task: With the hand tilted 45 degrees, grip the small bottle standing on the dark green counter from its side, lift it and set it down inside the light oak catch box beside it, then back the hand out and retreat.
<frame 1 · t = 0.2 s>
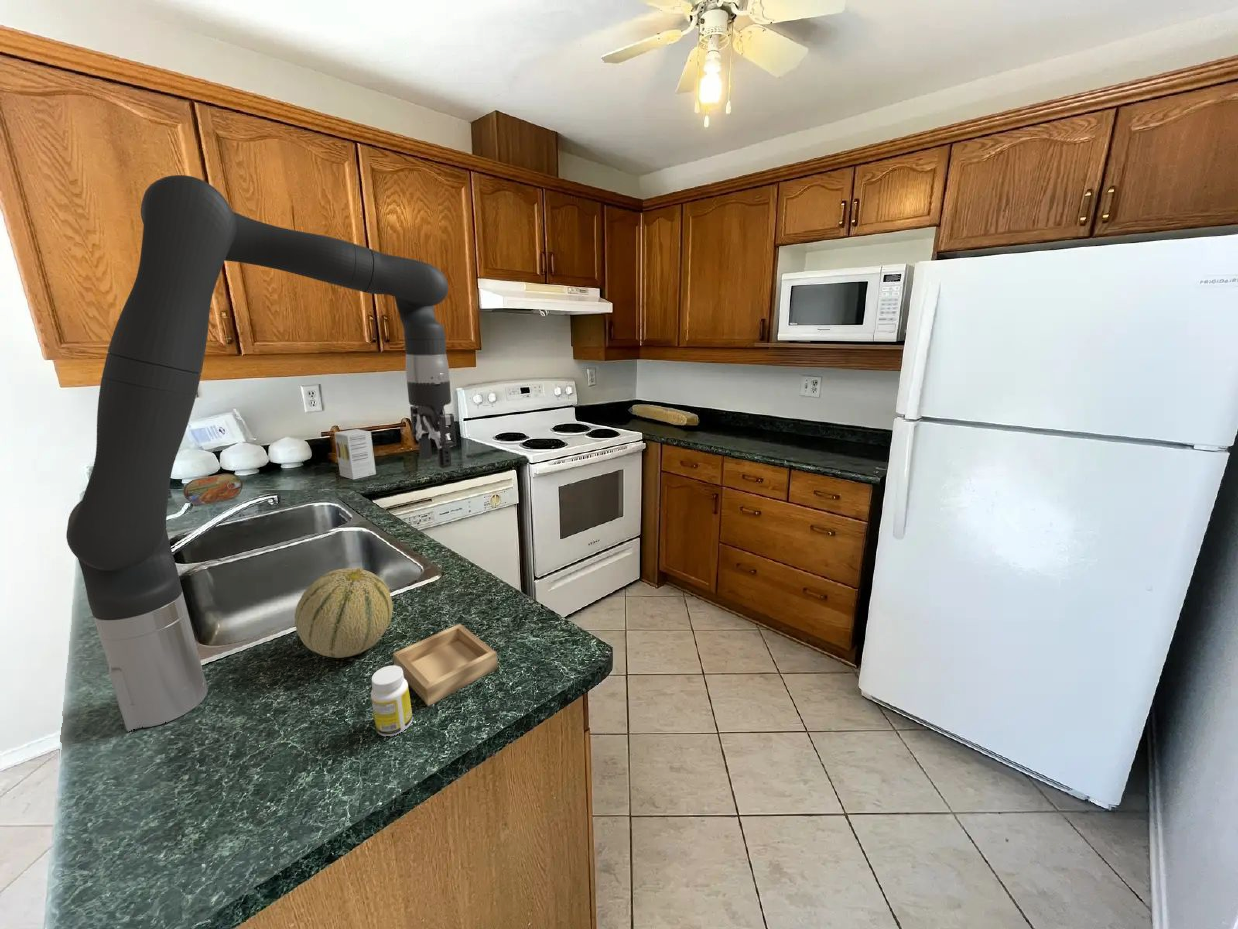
hand: (435, 462, 98), 29 cm above the worktop, tool pointing down, fingers open, 8 cm apart
supplement bottle: (394, 726, 71), on the worktop
catch box: (446, 668, 83), on the worktop
supplement box: (358, 475, 191), on the worktop
tin: (216, 501, 162), on the worktop
cantaloupe: (351, 649, 88), on the worktop
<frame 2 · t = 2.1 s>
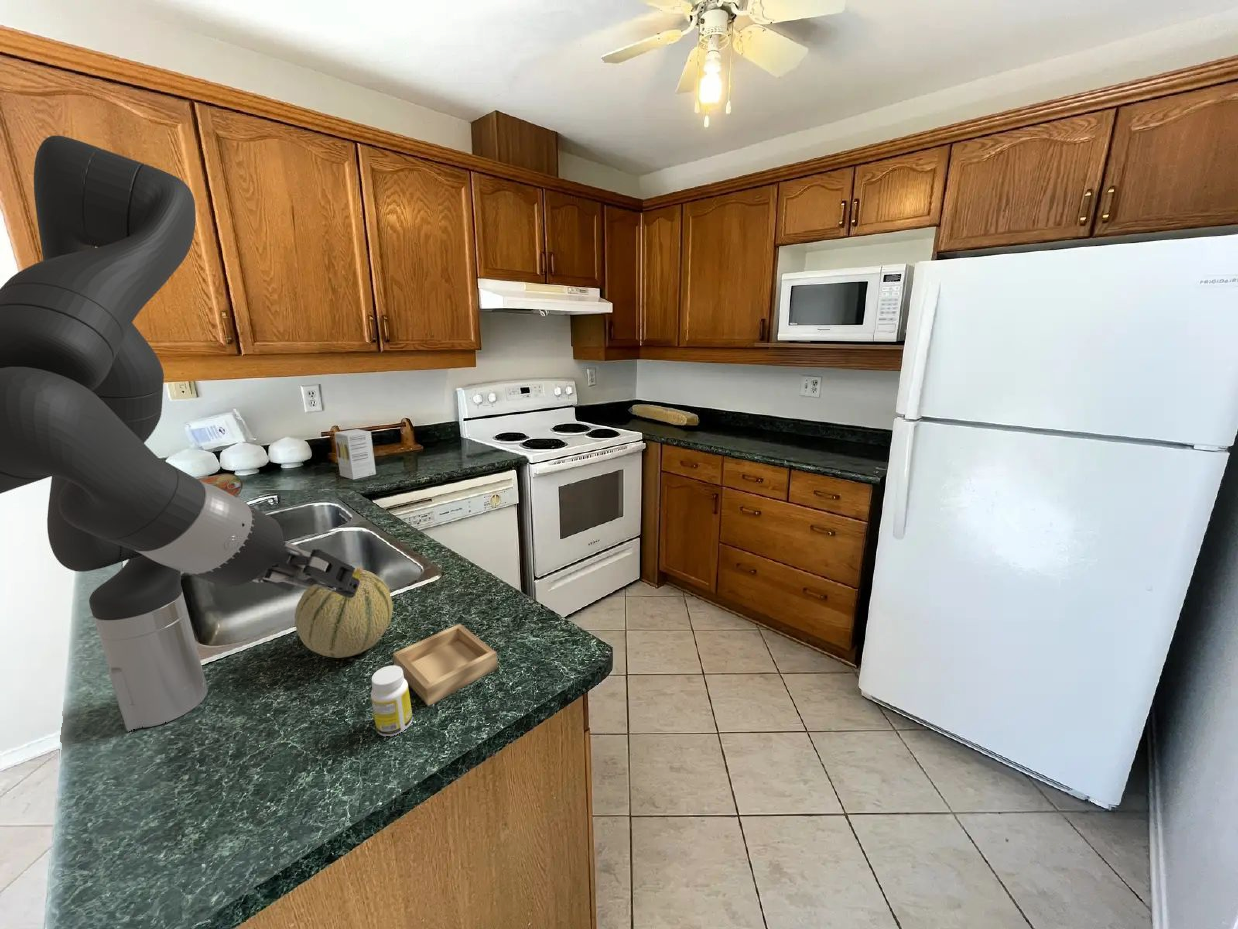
hand: (323, 586, 60), 25 cm above the worktop, tool tilted 45°, fingers open, 8 cm apart
nothing on the worktop moved.
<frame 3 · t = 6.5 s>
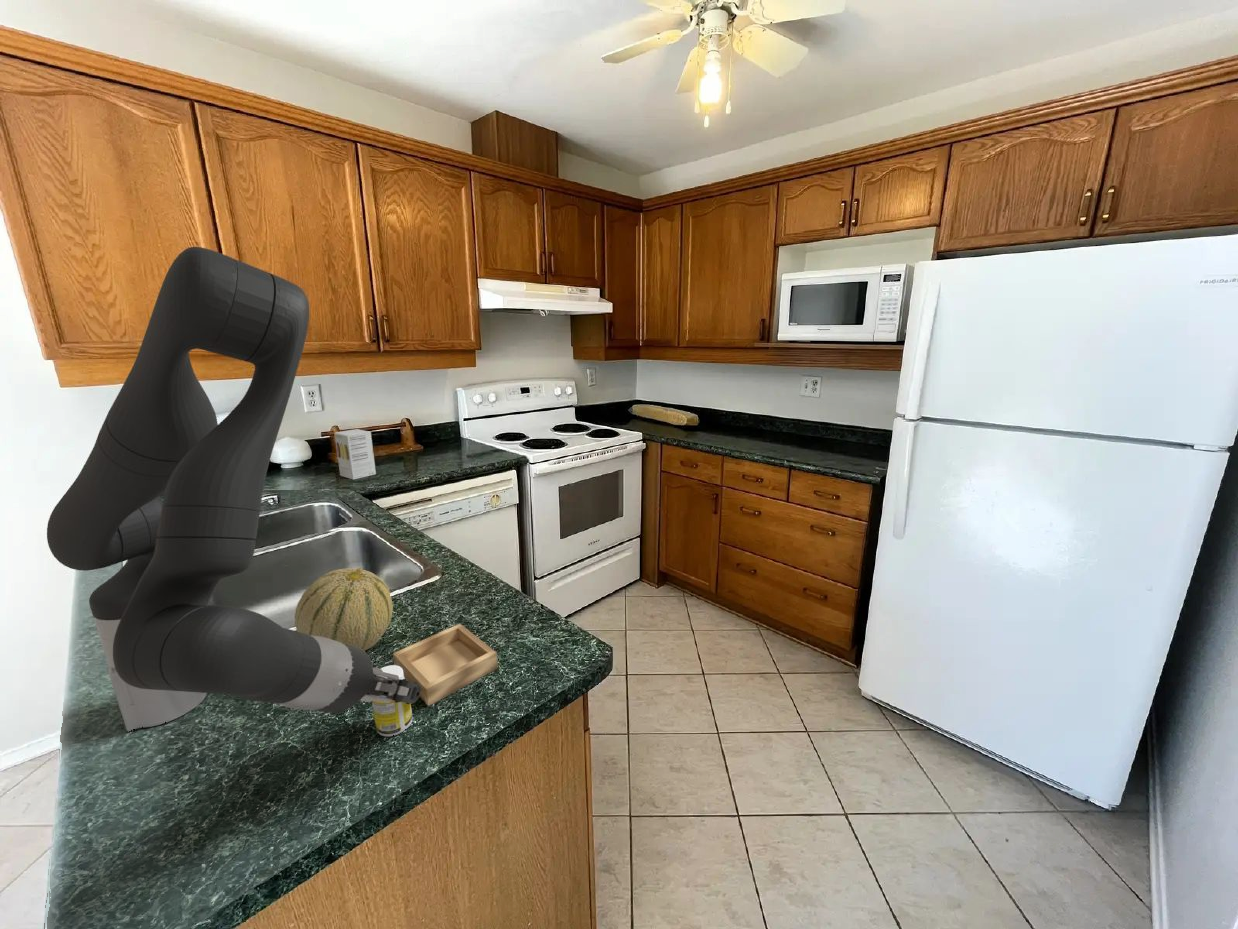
hand: (399, 691, 72), 4 cm above the worktop, tool tilted 45°, fingers closed on supplement bottle, 4 cm apart
supplement bottle: (394, 725, 71), on the worktop, touching gripper
everything else where it was.
when the fingers open (6 cm above the worktop, at t = 11.1 s): supplement bottle drops 1 cm, resting on catch box.
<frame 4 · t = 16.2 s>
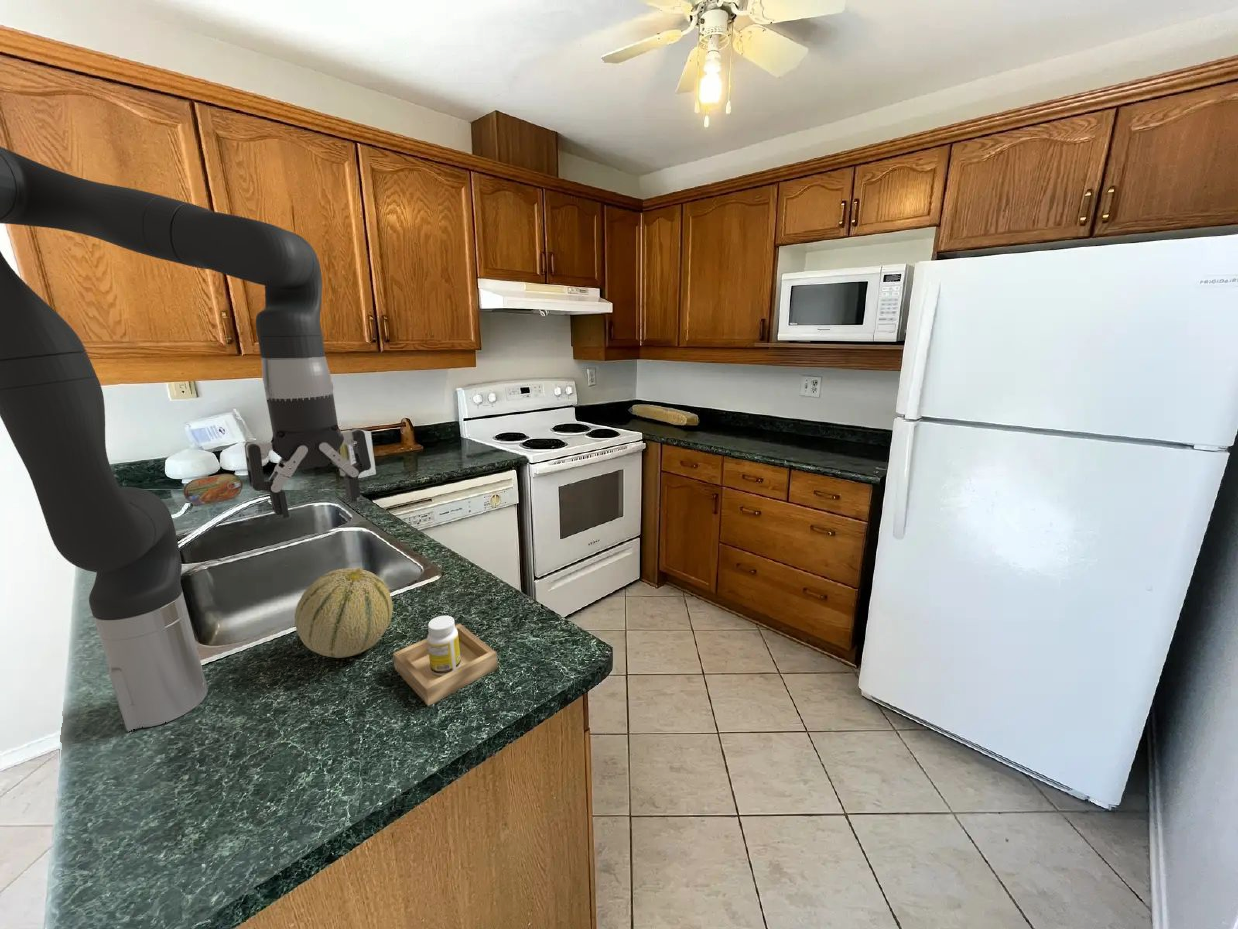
hand: (319, 508, 70), 30 cm above the worktop, tool pointing down, fingers open, 8 cm apart
supplement bottle: (446, 668, 82), resting on catch box
everything else where it was.
at the end: supplement bottle inside the target area on the catch box (0.3 cm from its centre), point 0.3 cm above the catch box's base; the gripper is holding nothing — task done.
